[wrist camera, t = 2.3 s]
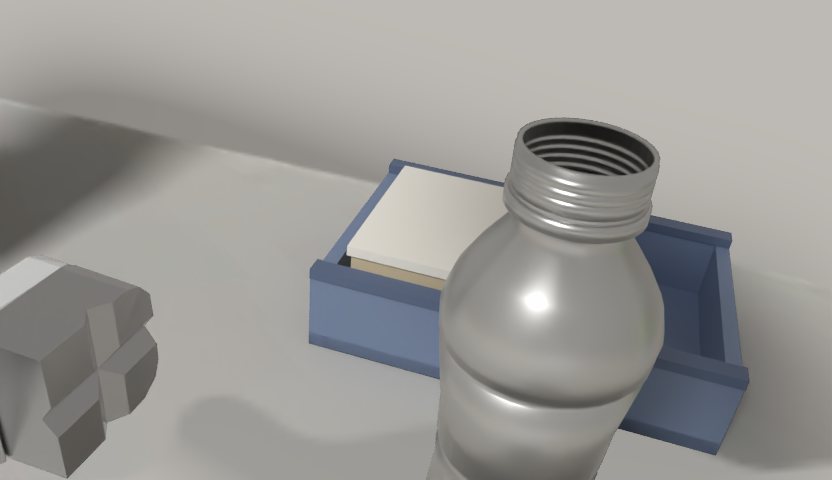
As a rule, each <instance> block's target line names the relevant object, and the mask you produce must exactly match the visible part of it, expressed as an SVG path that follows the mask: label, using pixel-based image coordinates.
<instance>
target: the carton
mask: <svg viewBox="0 0 832 480" xmlns="http://www.w3.org/2000/svg"><path fill="white" fill-rule="evenodd" d="M503 189H504V187H500V186H496V185H491V184H487V183H482V182H478V181H473V180H468V179H464V178H459V177H455V176H450V175H446V174H441V173H437V172H432V171H428V170H423V169H419V168H414V167H410V166H404V168H403V169H402V170H401V172H400V173H399V175H398V176H397V177H396V179H395V180H394V182H393V183H392V184H391V186H390V187H389V188H388V190H387V191H386V193H385V194H384V195H383V197H382V198H381V200H380V201H379V202H378V204H377V205H376V206H375V208H374V209H373V211H372V212H371V213H370V215H369V216H368V218H367V219H366V220H365V222H364V223H363V224H362V226H361V227H360V229H359V230H358V231H357V233H356V234H355V236H354V237H353V238H352V240H351V241H350V243H349V244H348V245H347V255H348V256H351V268H354V269H358V270H362V271H366V272H370V273H374V274H378V275H382V276H386V277H390V278H394V279H398V280H402V281H406V282H410V283H414V284H418V285H422V286H425V287H429V288H433V289H437V290H441V291H442V286H443V285H444V283H445V281H446V279H447V277H448V275H449V273H450V272H451V270H452V268H453V266H454V264H455V262H456V261H457V259H458V257H459V256H460V254H461V253H462V252H463V251H464V250H465V249H466V248H467V247H468V246H469V245H470V244H471V243H472V242H473V241H474V240H475V239H476V238H477V237H478V236H479V235H480V234H481V233H482V232H483V231H485V230H486V229H487V228H488V227H489V226H490V225H492V224H493V223H494V222H495V221H497V220H498V219H499V218H501V217H502V216H503V215H505V214H506V213H507V212H508V210H507V208H506V207H505V205H504V202H503V199H502V197H503Z"/></svg>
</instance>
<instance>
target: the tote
mask: <svg viewBox="0 0 832 480" xmlns="http://www.w3.org/2000/svg"><path fill="white" fill-rule="evenodd" d="M404 166H410V167H414V168H419V169H423V170H428V171H432V172H437V173H441V174H446V175H450V176H455V177H459V178H464V179H468V180H473V181H478V182H482V183H487V184H491V185H496V186H500V187H504V183H502V182H497V181H492V180H488V179H483V178H479V177H475V176H470V175H465V174H461V173H456V172H452V171H447V170H442V169H438V168H434V167H429V166H425V165H420V164H415V163H411V162H406V161H402V160H397V159H394V160H393V161H392V162H391V164H390V165H389V173H388V175H387V176H386V177H385V179H384V180H383V181H382V183H381V184H380V185H379V187H378V188H377V189H376V191H375V192H374V193H373V195H372V196H371V197H370V199H369V200H368V201H367V203H366V204H365V205H364V207H363V208H362V209H361V211H360V212H359V213H358V215H357V216H356V217H355V219H354V220H353V221H352V223H351V224H350V225H349V227H348V228H347V229H346V231H345V232H344V233H343V235H342V236H341V237H340V239H339V240H338V241H337V243H336V244H335V245H334V247H333V248H332V249H331V251H330V252H329V253H328V255H327V256H326V257H325V259H324V260H323V261H322V260H319V259H317V260H316V262H315V263H314V264H313V266H312V267H311V268H310V315H309V343H311V344H314V345H318V346H321V347H325V348H329V349H332V350H336V351H339V352H343V353H347V354H350V355H354V356H358V357H361V358H365V359H368V360H372V361H376V362H379V363H383V364H387V365H390V366H394V367H397V368H401V369H405V370H408V371H412V372H416V373H419V374H423V375H426V376H430V377H434V378H437V379H440V361H439V324H438V320H439V307H440V296H441V290H437V289H433V288H429V287H425V286H422V285H418V284H414V283H410V282H406V281H402V280H398V279H394V278H390V277H386V276H382V275H378V274H374V273H370V272H366V271H362V270H358V269H354V268H351V256H348V255H347V245H348V244H349V243H350V241H351V240H352V238H353V237H354V236H355V234H356V233H357V231H358V230H359V229H360V227H361V226H362V224H363V223H364V222H365V220H366V219H367V218H368V216H369V215H370V213H371V212H372V211H373V209H374V208H375V206H376V205H377V204H378V202H379V201H380V200H381V198H382V197H383V195H384V194H385V193H386V191H387V190H388V188H389V187H390V186H391V184H392V183H393V182H394V180H395V179H396V177H397V176H398V175H399V173H400V172H401V170H402V169H403V168H404ZM635 239H636V241H637V243H638V245H639V246H640V248H641V250H642V252H643V254H644V256H645V257H646V259H647V261H648V263H649V265H650V267H651V269H652V272H653V274H654V277H655V279H656V282H657V284H658V287H659V289H660V292H661V294H662V299H663V303H664V341H663V346H662V348H661V350H660V352H659V355H658V357H657V359H656V361H655V363H654V366H653V368H652V370H651V372H650V374H649V376H648V378H647V380H646V381H645V382H644V384H643V386H642V388H641V389H640V391H639V393H638V394H637V396H636V398H635V400H634V401H633V403H632V405H631V406H630V408H629V410H628V412H627V413H626V415H625V417H624V418H623V420H622V422H621V423H620V425H619V427H618V429H622V430H626V431H629V432H633V433H637V434H640V435H644V436H647V437H651V438H654V439H658V440H662V441H665V442H669V443H673V444H676V445H680V446H684V447H687V448H691V449H694V450H698V451H702V452H705V453H709V454H712V455H716V453H717V451H718V449H719V447H720V445H721V442H722V440H723V438H724V436H725V433H726V431H727V429H728V427H729V424H730V422H731V420H732V418H733V415H734V413H735V411H736V409H737V406H738V404H739V402H740V400H741V398H742V395H743V393H744V391H745V390H746V388H747V386H748V384H749V374H748V368H746V367H742V358H741V349H740V341H739V332H738V323H737V314H736V306H735V297H734V288H733V279H732V270H731V262H730V253H729V248H730V245H731V243H732V235H731V233H729V232H724V231H720V230H715V229H711V228H706V227H702V226H697V225H693V224H687V223H683V222H679V221H674V220H670V219H665V218H661V217H656V216H652V215H650V219H649V222H648V226H647V227H646V229H645V230H644V231H643V232H642V233H641V234H639V235H638V236H637V237H635Z"/></svg>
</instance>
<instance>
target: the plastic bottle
mask: <svg viewBox="0 0 832 480" xmlns="http://www.w3.org/2000/svg"><path fill="white" fill-rule="evenodd" d="M659 162H660V156H659V153H658V151H657V150H656V149H655V147H654V146H653V145H651V144H650V143H649V142H648V141H647V140H645V139H643V138H642V137H640V136H638V135H636V134H634V133H632V132H630V131H628V130H625V129H622V128H620V127H617V126H613V125H610V124H606V123H602V122H598V121H593V120H585V119H578V118H549V119H542V120H538V121H534V122H531V123H529V124H526V125H525V126H524V127H522V128H521V129H520V131H519V132H518V136H517V138H516V140H515V145H514V151H513V158H512V164H511V170H510V172H509V173H508V175H507V177H506V178H505V183H504V189H503V197H502V199H503V202H504V205H505V207H506V208H507V210H508V212H507V213H506V214H505V215H503V216H502V217H501V218H499V219H498V220H497V221H495V222H494V223H493V224H492V225H490V226H489V227H488V228H487V229H486V230H485V231H483V232H482V233H481V234H480V235H479V236H478V237H477V238H476V239H475V240H474V241H473V242H472V243H471V244H470V245H469V246H468V247H467V248H466V249H465V250H464V251H463V252H462V253H461V254H460V256H459V257H458V259H457V261H456V262H455V264H454V266H453V268H452V270H451V272H450V273H449V275H448V277H447V279H446V281H445V283H444V285H443V286H442V291H441V296H440V307H439V320H438V324H439V361H440V401H439V411H438V421H437V433H436V442H435V450H434V453H433V457H432V461H431V464H430V467H429V471H428V474H427V477H426V480H595V477H596V475H597V471H598V469H599V467H600V465H601V463H602V461H603V458H604V456H605V454H606V451H607V449H608V447H609V444H610V442H611V440H612V437H613V435H614V433H615V432H616V430H617V429H618V427H619V425H620V423H621V422H622V420H623V418H624V417H625V415H626V413H627V412H628V410H629V408H630V406H631V405H632V403H633V401H634V400H635V398H636V396H637V394H638V393H639V391H640V389H641V388H642V386H643V384H644V382H645V381H646V380H647V378H648V376H649V374H650V372H651V370H652V368H653V366H654V363H655V361H656V359H657V357H658V355H659V352H660V350H661V348H662V346H663V341H664V303H663V299H662V294H661V292H660V289H659V287H658V284H657V282H656V279H655V277H654V274H653V272H652V269H651V267H650V265H649V263H648V261H647V259H646V257H645V256H644V254H643V252H642V250H641V248H640V246H639V245H638V243H637V241H636V239H635V237H637V236H638V235H639V234H641V233H642V232H643V231H644V230H645V229H646V227H647V226H648V222H649V219H650V215H651V211H652V202H651V196H652V193H653V189H654V186H655V183H656V179H657V175H658V172H659V166H660V165H659Z"/></svg>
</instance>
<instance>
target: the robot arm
mask: <svg viewBox="0 0 832 480" xmlns="http://www.w3.org/2000/svg"><path fill="white" fill-rule="evenodd" d="M152 316H153V311H152V305H151V299H150V294H149V293H148V292H146V291H145V290H143V289H142V288H140V287H138V286H135V285H132V284H129V283H126V282H123V281H120V280H117V279H114V278H111V277H108V276H105V275H102V274H99V273H96V272H93V271H91V270H88V269H85V268H82V267H79V266H76V265H70V264H67V263H64V262H61V261H58V260H56V259H53V258H50V257H47V256H44V255H39V256H31V257H27V258H25V259H24V260H22V261H20V262H19V263H17V264H16V265H14V266H13V267H11V268H10V269H8V270H7V271H5V272H4V273H2V274H1V275H0V464H2V463H4V462H6V460H7V459H6V457H8V458H11V459H13V460H16V461H19V462H22V463H25V464H27V465H30V466H33V467H36V468H39V469H41V470H44V471H47V472H50V473H53V474H56V475H58V476H61V477H64V478H68V477H69V476H70V475H71V474H72V473H73V472H74V471H75V470H76V469H77V468H78V467H79V466H80V465H81V464H82V463H83V462H84V461H85V460H86V459H87V458H88V457H89V456H90V455H91V454H92V453H93V452H94V451H95V450H96V448H97V447H98V446H99V445H100V444H101V443H102V442H103V441H104V440H105V439H106V429H107V422H110V421H113V420H115V419H118V418H121V417H123V416H126V415H128V414H130V413H131V412H132V411H133V410H134V409H135V408H136V407H137V406H138V405H139V403H140V402H141V401H142V400H143V399H144V398H145V396H146V394H147V392H148V390H149V388H150V386H151V384H152V382H153V380H154V378H155V376H156V370H157V364H158V351H157V343H156V342H155V340H154V339H153V337H152V336H151V335H150V333H149V332H148V330H147V329H146V327H145V325H146V324H147V322H148V321H149V320H150V319H151V318H152Z"/></svg>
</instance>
